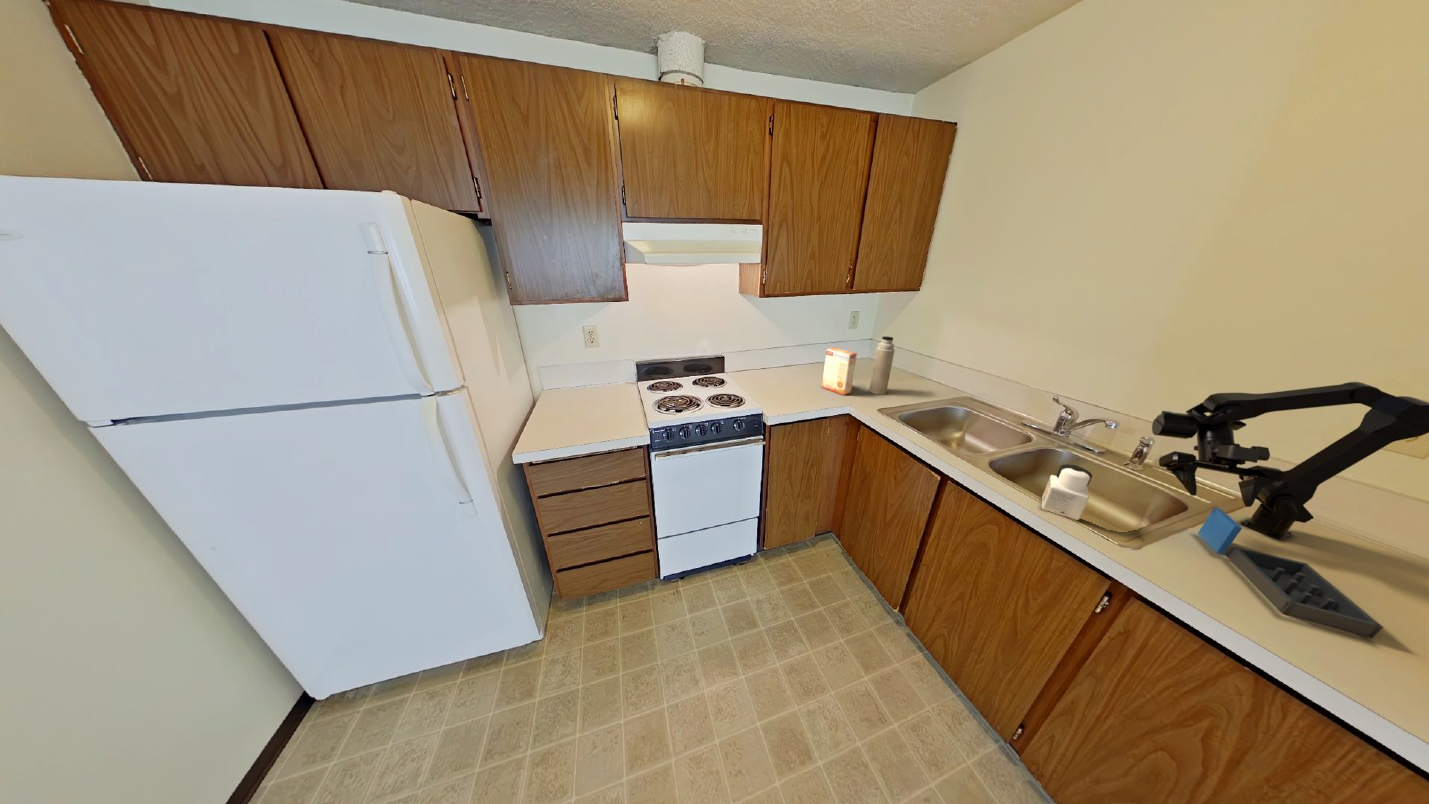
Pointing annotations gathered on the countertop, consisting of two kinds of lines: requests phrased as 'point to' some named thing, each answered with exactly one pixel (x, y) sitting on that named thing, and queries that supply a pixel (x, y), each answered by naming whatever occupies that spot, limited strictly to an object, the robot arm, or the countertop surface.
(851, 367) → the cracker box
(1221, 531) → the blue rectangular block
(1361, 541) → the countertop surface
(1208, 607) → the countertop surface
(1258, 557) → the dish rack
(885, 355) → the thermos bottle
